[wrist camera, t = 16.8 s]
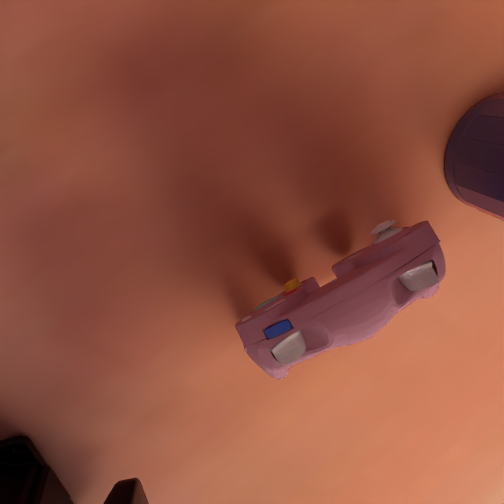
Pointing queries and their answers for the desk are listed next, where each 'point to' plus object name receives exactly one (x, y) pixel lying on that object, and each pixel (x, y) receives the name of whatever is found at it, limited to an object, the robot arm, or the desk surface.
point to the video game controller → (345, 299)
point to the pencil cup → (479, 157)
